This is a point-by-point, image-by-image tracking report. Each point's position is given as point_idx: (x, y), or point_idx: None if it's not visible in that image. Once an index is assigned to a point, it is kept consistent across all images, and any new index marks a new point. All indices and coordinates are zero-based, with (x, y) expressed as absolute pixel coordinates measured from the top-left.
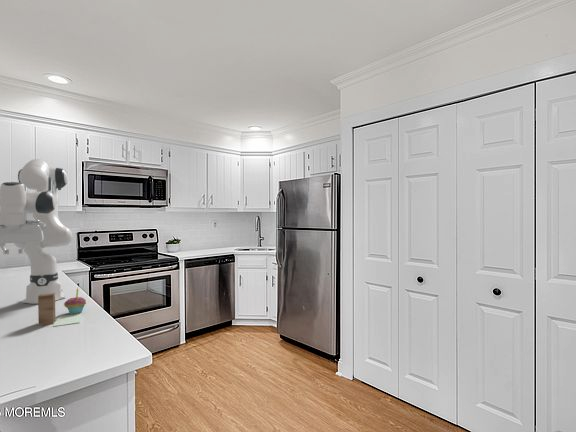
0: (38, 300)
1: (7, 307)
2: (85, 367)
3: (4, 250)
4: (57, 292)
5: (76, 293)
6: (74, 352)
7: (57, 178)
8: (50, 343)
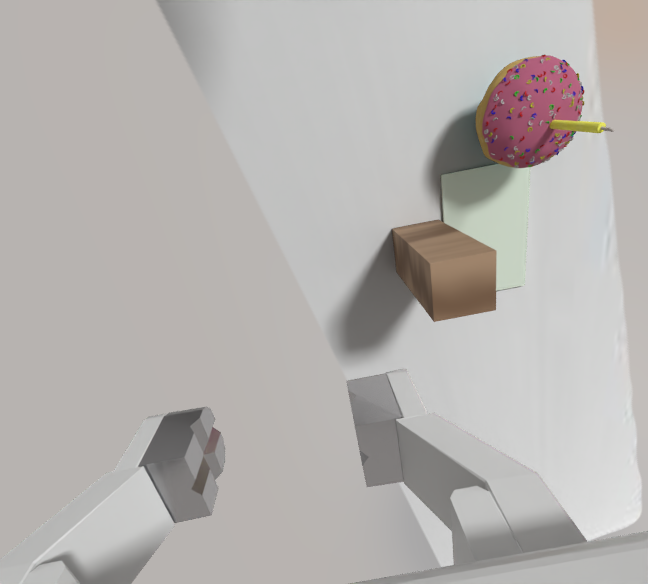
0: (428, 312)
1: None
2: None
3: (167, 519)
4: None
5: (574, 130)
6: None
7: None
8: (467, 429)
